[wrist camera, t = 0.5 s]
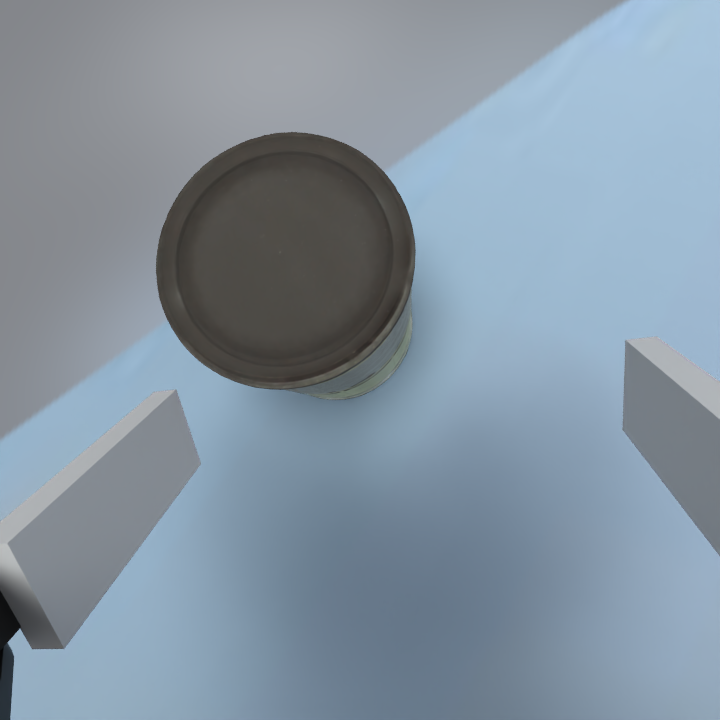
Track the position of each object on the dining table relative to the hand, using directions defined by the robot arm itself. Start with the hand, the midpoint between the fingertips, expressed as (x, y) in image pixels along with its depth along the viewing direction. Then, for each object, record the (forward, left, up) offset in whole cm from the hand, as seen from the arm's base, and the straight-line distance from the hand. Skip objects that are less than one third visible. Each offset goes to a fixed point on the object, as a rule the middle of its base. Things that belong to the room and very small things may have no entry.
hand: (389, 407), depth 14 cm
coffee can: (+6, +4, -18) cm, 19 cm away
